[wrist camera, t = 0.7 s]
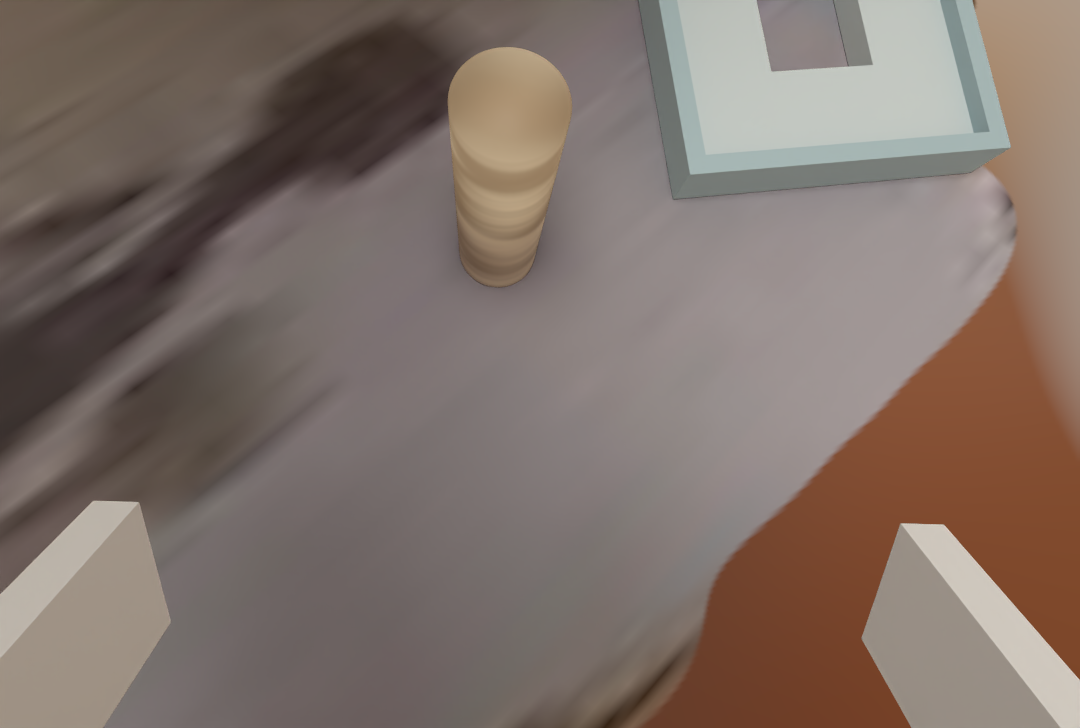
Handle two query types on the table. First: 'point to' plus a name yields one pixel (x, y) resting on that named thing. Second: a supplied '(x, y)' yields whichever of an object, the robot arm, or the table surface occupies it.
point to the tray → (820, 97)
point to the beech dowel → (505, 158)
